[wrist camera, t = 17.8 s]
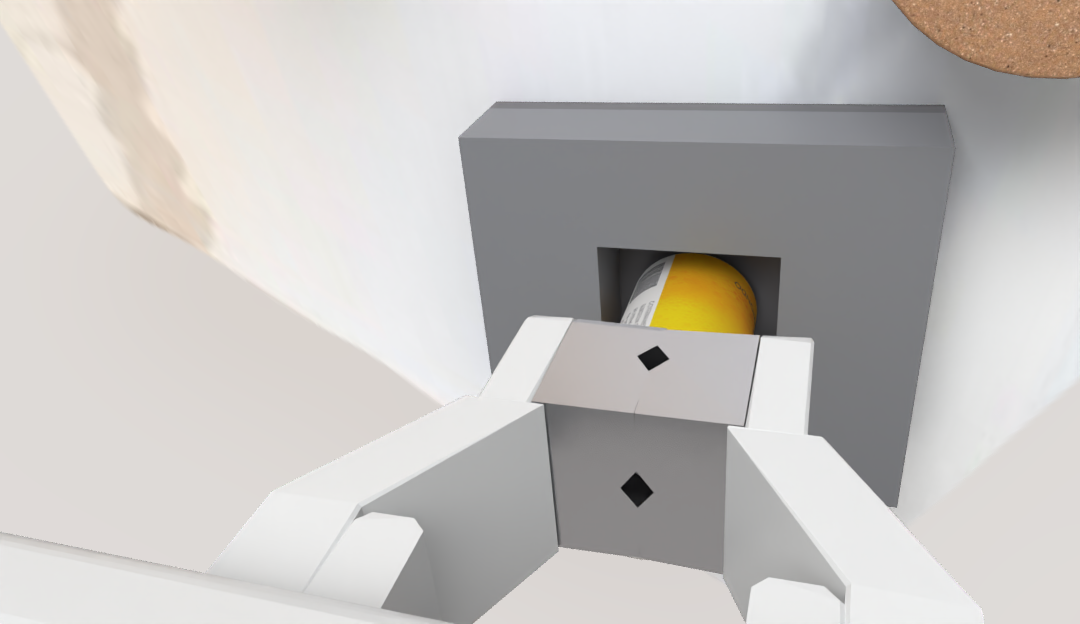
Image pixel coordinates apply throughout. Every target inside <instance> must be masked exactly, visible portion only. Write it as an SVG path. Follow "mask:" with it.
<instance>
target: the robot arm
mask: <svg viewBox="0 0 1080 624" xmlns="http://www.w3.org/2000/svg"><path fill="white" fill-rule="evenodd" d="M813 353H814V341H813V340H812V338H806V337H785V336H764V335H763V336H762V337H760V335H747V334H731V333H715V332H698V331H682V330H667V328H659V327H650V326H640V325H631V324H621V323H612V322H602V321H593V320H583V319H577V320H575V319H574V318H567V317H553V316H539V315H533V316H530V317H528V318H527V319H526V320H525V321H524V323H523V324H522V326H521V328H520V329H519V331H518V333H517V334H516V336H515V337H514V339H513V341H512V342H511V344H510V346H509V347H508V349H507V351H506V352H505V354H504V356H503V357H502V359H501V361H500V362H499V364H498V365H497V367H496V369H495V370H494V372H493V374H492V375H491V377H490V379H489V380H488V382H487V384H486V385H485V387H484V389H483V390H482V392H481V394H480V395H479V396H469V395H465V396H463V397H461V398H459V399H457V400H455V401H453V402H451V403H449V404H447V405H445V406H443V407H441V408H439V409H437V410H435V411H433V412H431V413H429V414H427V415H425V416H423V417H421V418H419V419H417V420H415V421H413V422H411V423H409V424H407V425H405V426H403V427H401V428H398V429H396V430H394V431H392V432H390V433H388V434H386V435H384V436H382V437H380V438H378V439H376V440H374V441H372V442H370V443H368V444H366V445H364V446H362V447H360V448H358V449H356V450H354V451H352V452H350V453H348V454H346V455H344V456H342V457H340V458H338V459H336V460H334V461H332V462H330V463H328V464H326V465H324V466H322V467H320V468H318V469H316V470H314V471H312V472H310V473H308V474H306V475H304V476H302V477H299V478H297V479H295V480H293V481H291V482H289V483H287V484H285V485H283V486H281V487H279V488H277V489H275V490H273V491H272V492H271V493H270V494H269V495H268V496H267V498H266V499H265V500H264V501H263V503H262V504H261V505H260V506H259V508H258V509H257V510H256V511H255V513H254V514H253V515H252V516H251V518H250V519H249V520H248V521H247V522H246V523H245V525H244V526H243V527H242V528H241V530H240V531H239V532H238V534H237V535H236V536H235V537H234V538H233V539H232V541H231V542H230V543H229V545H228V546H227V547H226V548H225V549H224V551H223V552H222V553H221V554H220V555H219V557H218V558H217V559H216V560H215V562H214V563H213V564H212V565H211V567H210V568H209V569H208V570H207V571H206V573H202V572H197V571H192V570H187V569H181V568H177V567H172V566H166V565H162V564H157V563H152V562H147V561H142V560H137V559H132V558H127V557H122V556H117V555H112V554H107V553H102V552H97V551H92V550H87V549H82V548H78V547H72V546H68V545H63V544H57V543H53V542H48V541H42V540H38V539H33V538H28V537H23V536H18V535H13V534H8V533H2V532H0V624H473V623H474V622H475V621H476V620H477V619H479V618H480V617H481V616H482V615H483V614H485V613H486V612H487V611H488V610H489V609H491V608H492V607H493V606H494V605H495V604H496V603H498V602H499V601H500V600H501V599H502V598H504V597H505V596H506V595H507V594H508V593H509V592H511V591H512V590H513V589H514V588H516V587H517V586H518V585H519V584H520V583H521V582H523V581H524V580H525V579H526V578H527V577H529V576H530V575H531V574H532V573H533V572H534V571H536V570H537V569H538V568H539V567H540V566H541V565H543V564H544V563H545V562H546V561H547V560H548V559H550V558H551V557H552V556H554V554H556V553H557V552H558V547H564V548H571V549H579V550H586V551H593V552H600V553H608V554H615V555H623V556H629V557H636V558H642V559H647V560H652V561H658V562H663V563H668V564H673V565H678V566H683V567H689V568H694V569H699V570H704V571H709V572H715V573H720V574H723V579H724V581H725V583H726V585H727V587H728V589H729V590H730V593H731V594H732V596H733V599H734V601H735V603H736V605H737V606H738V609H739V610H740V613H741V615H742V617H743V619H744V621H745V623H746V624H984V617H983V611H982V609H981V607H980V606H979V605H978V604H977V603H976V602H975V601H974V600H973V599H972V598H971V597H970V595H968V593H967V592H966V591H965V590H964V589H963V588H962V587H961V586H960V585H959V584H958V583H957V581H956V580H955V579H954V578H953V577H952V576H951V575H950V574H949V573H948V572H947V571H946V570H945V568H944V567H943V566H942V565H941V564H940V563H939V562H938V561H937V560H936V559H935V558H934V557H933V555H932V554H931V553H930V552H929V551H928V550H927V549H926V548H925V547H924V546H923V545H922V544H921V542H920V541H919V540H918V539H917V538H916V537H915V536H914V535H913V534H912V533H911V532H910V531H909V530H908V528H907V527H906V526H905V525H904V524H903V523H902V522H901V521H900V520H899V519H898V518H897V517H896V515H895V514H894V513H893V512H892V511H891V510H890V509H889V508H888V507H887V506H886V505H885V504H884V502H883V501H882V500H881V499H880V498H879V497H878V496H877V495H876V494H875V493H874V492H873V491H872V489H871V488H870V487H869V486H868V485H867V484H866V483H865V482H864V481H863V480H862V479H861V478H860V477H859V475H858V474H857V473H856V472H855V471H854V470H853V469H852V468H851V467H850V466H849V465H848V464H847V462H846V461H845V460H844V459H843V458H842V457H841V456H840V455H839V454H838V453H837V452H836V451H835V449H834V448H833V447H832V446H831V445H830V444H829V443H828V442H827V441H826V440H825V439H824V438H823V437H820V436H812V435H808V422H809V409H810V395H811V381H812V367H813Z"/></svg>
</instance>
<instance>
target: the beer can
mask: <svg viewBox="0 0 1080 624" xmlns="http://www.w3.org/2000/svg"><path fill="white" fill-rule="evenodd" d="M756 317H757V304H756V299H755V296H754V293H753V291H752V288H751V287H750V285H749V283H748V282H747V280H746V279H745V278H744V277H743V276H742V275H741V274H740V273H739V272H738V271H737V270H736V269H735V268H734V267H732V266H731V265H729V264H728V263H726V262H724V261H722V260H720V259H718V258H715V257H712V256H709V255H705V254H699V253H681V254H675V255H671V256H668V257H665V258H662V259H661V260H659V261H657V262H655V263H654V264H652V265H651V266H650V267H649V268H648V269H646V270H645V272H644V273H643V274H642V275H641V277H640V278H639V280H638V282H637V284H636V286H635V289H634V291H633V294H632V296H631V298H630V301H629V303H628V305H627V308H626V310H625V313H624V315H623V317H622V320H621V322H620V323H621V324H631V325H640V326H650V327H659V328H667V330H682V331H698V332H715V333H731V334H747V335H754V329H755V324H756ZM627 557H629V556H627ZM631 558H636V557H631ZM636 559H642V558H636ZM645 560H647V559H645Z"/></svg>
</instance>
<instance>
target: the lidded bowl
mask: <svg viewBox="0 0 1080 624" xmlns="http://www.w3.org/2000/svg"><path fill="white" fill-rule="evenodd" d="M892 1H893V2H894V3H895V4H896V6H897V7H898V8H899V9H900V10H901V11H902V13H903V14H904V15H905V16H906V17H907V19H908V20H909V21H910V22H911V23H912V24H913V25H914V26H915V27H916V28H917V29H918V30H920V31H921V32H922V33H923V34H925V35H926V36H927V37H928V38H929V39H931V40H932V41H933V42H934V43H936V44H937V45H938V46H940V47H942V48H944V49H946V50H947V51H949V52H951V53H953V54H955V55H956V56H958V57H960V58H962V59H964V60H966V61H968V62H971V63H974V64H977V65H980V66H982V67H985V68H988V69H991V70H994V71H997V72H1003V73H1008V74H1013V75H1019V76H1024V77H1031V78H1057V79H1068V78H1078V77H1080V0H892Z"/></svg>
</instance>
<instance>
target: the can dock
mask: <svg viewBox="0 0 1080 624" xmlns="http://www.w3.org/2000/svg"><path fill="white" fill-rule="evenodd" d="M458 139H459V146H460V153H461V160H462V167H463V174H464V181H465V188H466V195H467V202H468V210H469V217H470V224H471V231H472V238H473V245H474V252H475V259H476V266H477V274H478V281H479V288H480V295H481V302H482V309H483V316H484V323H485V330H486V338H487V345H488V352H489V359H490V366H491V373H492V374H493V372H494V370H495V369H496V367H497V365H498V364H499V362H500V361H501V359H502V357H503V356H504V354H505V352H506V351H507V349H508V347H509V346H510V344H511V342H512V341H513V339H514V337H515V336H516V334H517V333H518V331H519V329H520V328H521V326H522V324H523V323H524V321H525V320H526V319H527V318H528V317H530V316H533V315H539V316H553V317H567V318H574V319H575V320H577V319H583V320H593V321H602V322H612V323H620V322H621V320H622V317H623V315H624V313H625V310H626V308H627V305H628V303H629V301H630V298H631V296H632V294H633V291H634V289H635V286H636V284H637V282H638V280H639V278H640V277H641V275H642V274H643V273H644V272H645V270H646V269H648V268H649V267H650V266H651V265H652V264H654V263H655V262H657V261H659V260H661V259H662V258H665V257H668V256H671V255H675V254H681V253H699V254H705V255H709V256H712V257H715V258H718V259H720V260H722V261H724V262H726V263H728V264H729V265H731V266H732V267H734V268H735V269H736V270H737V271H738V272H739V273H740V274H741V275H742V276H743V277H744V278H745V279H746V280H747V282H748V283H749V285H750V287H751V288H752V291H753V293H754V296H755V299H756V304H757V317H756V324H755V329H754V335H760V337H762V336H763V335H764V336H785V337H806V338H812V340H813V341H814V353H813V367H812V381H811V395H810V409H809V422H808V435H812V436H820V437H823V438H824V439H825V440H826V441H827V442H828V443H829V444H830V445H831V446H832V447H833V448H834V449H835V451H836V452H837V453H838V454H839V455H840V456H841V457H842V458H843V459H844V460H845V461H846V462H847V464H848V465H849V466H850V467H851V468H852V469H853V470H854V471H855V472H856V473H857V474H858V475H859V477H860V478H861V479H862V480H863V481H864V482H865V483H866V484H867V485H868V486H869V487H870V488H871V489H872V491H873V492H874V493H875V494H876V495H877V496H878V497H879V498H880V499H881V500H882V501H883V502H884V504H885V505H886V506H889V507H896V508H897V503H898V497H899V491H900V485H901V479H902V472H903V466H904V460H905V454H906V448H907V442H908V436H909V430H910V423H911V417H912V411H913V405H914V399H915V393H916V387H917V380H918V374H919V368H920V362H921V356H922V350H923V344H924V337H925V331H926V325H927V319H928V313H929V307H930V301H931V295H932V288H933V282H934V276H935V270H936V264H937V258H938V252H939V245H940V239H941V233H942V227H943V221H944V215H945V209H946V202H947V196H948V190H949V184H950V178H951V172H952V166H953V160H954V153H955V144H954V140H953V136H952V133H951V129H950V125H949V121H948V117H947V113H946V109H945V106H944V105H856V104H722V103H588V102H496V103H495V104H494V105H492V106H491V107H490V108H489V109H488V110H487V111H486V112H485V113H484V114H483V115H482V116H481V117H480V118H479V119H477V120H476V121H475V122H474V123H473V124H472V125H471V126H470V127H469V128H468V129H467V130H466V131H465V132H464V133H462V134H461V135H460V136H459V137H458Z"/></svg>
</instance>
